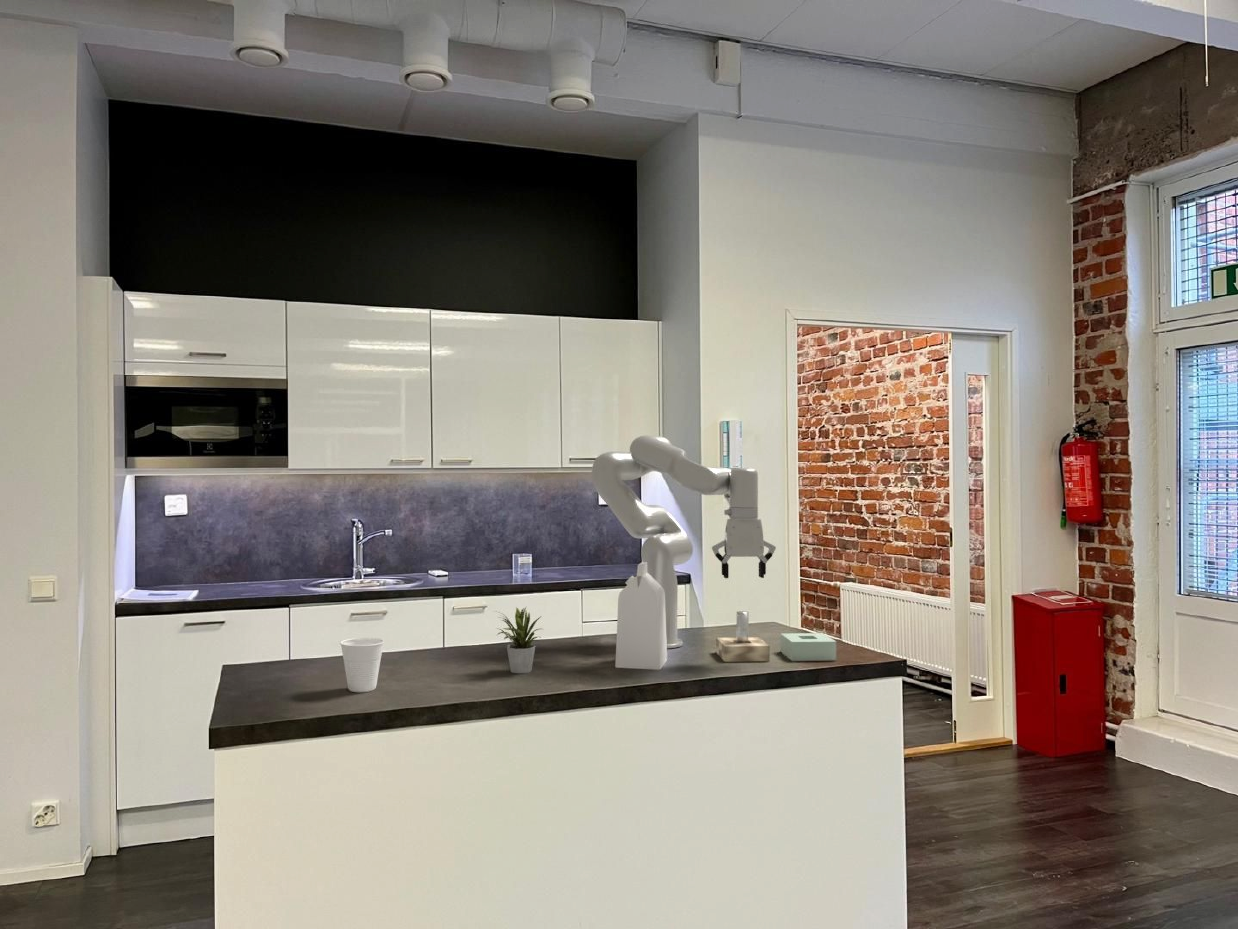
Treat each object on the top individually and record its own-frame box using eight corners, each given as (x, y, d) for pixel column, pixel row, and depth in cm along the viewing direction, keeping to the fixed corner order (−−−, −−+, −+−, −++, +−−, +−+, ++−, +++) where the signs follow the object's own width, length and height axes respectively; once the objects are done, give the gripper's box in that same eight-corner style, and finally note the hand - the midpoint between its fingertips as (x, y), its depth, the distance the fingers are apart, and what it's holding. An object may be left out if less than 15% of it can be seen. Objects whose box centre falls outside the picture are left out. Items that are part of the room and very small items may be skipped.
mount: (724, 661, 252) (724, 646, 252) (716, 652, 264) (716, 637, 264) (769, 661, 253) (769, 646, 253) (759, 651, 265) (759, 637, 265)
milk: (660, 669, 242) (660, 566, 242) (615, 667, 245) (616, 565, 244) (667, 660, 254) (667, 561, 254) (624, 657, 256) (625, 560, 256)
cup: (388, 684, 225) (388, 637, 225) (379, 695, 215) (379, 645, 215) (345, 684, 225) (345, 637, 224) (334, 695, 215) (334, 645, 215)
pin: (737, 658, 257) (737, 613, 257) (735, 655, 260) (735, 611, 260) (749, 657, 257) (749, 613, 257) (746, 655, 260) (747, 611, 260)
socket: (791, 660, 254) (791, 642, 254) (780, 651, 266) (780, 633, 266) (836, 660, 255) (836, 641, 255) (822, 651, 267) (822, 633, 267)
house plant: (483, 666, 245) (484, 602, 245) (536, 662, 250) (536, 599, 250) (497, 678, 232) (497, 610, 231) (552, 674, 237) (552, 607, 236)
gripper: (714, 515, 254) (714, 579, 254) (778, 514, 255) (778, 579, 255) (709, 513, 261) (709, 576, 261) (771, 513, 263) (771, 575, 263)
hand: (743, 577), depth 258 cm, fingers open, 9 cm apart
